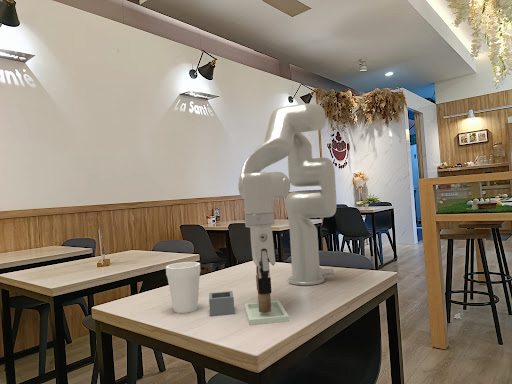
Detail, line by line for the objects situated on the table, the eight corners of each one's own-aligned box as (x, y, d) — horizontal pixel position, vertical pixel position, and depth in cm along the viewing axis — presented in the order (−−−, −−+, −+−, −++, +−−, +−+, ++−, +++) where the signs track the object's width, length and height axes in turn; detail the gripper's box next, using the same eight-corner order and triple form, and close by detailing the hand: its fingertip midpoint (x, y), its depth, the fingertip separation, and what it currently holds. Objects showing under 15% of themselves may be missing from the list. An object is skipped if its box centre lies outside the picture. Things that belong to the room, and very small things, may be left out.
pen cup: (233, 308, 107) (232, 290, 107) (234, 316, 101) (233, 297, 101) (210, 311, 106) (209, 293, 106) (210, 318, 100) (209, 299, 100)
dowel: (270, 308, 100) (268, 270, 101) (272, 312, 97) (269, 272, 97) (258, 309, 100) (255, 271, 100) (259, 313, 97) (257, 273, 97)
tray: (244, 310, 105) (244, 303, 105) (279, 307, 106) (279, 300, 106) (249, 327, 91) (249, 319, 91) (289, 323, 93) (288, 316, 93)
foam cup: (171, 307, 112) (168, 263, 112) (203, 305, 112) (200, 260, 112) (166, 318, 102) (163, 269, 102) (201, 315, 103) (198, 267, 103)
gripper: (279, 221, 91) (284, 299, 91) (269, 217, 107) (273, 283, 107) (248, 223, 90) (252, 301, 90) (242, 219, 107) (246, 285, 106)
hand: (264, 291), depth 99 cm, fingers closed on dowel, 3 cm apart
